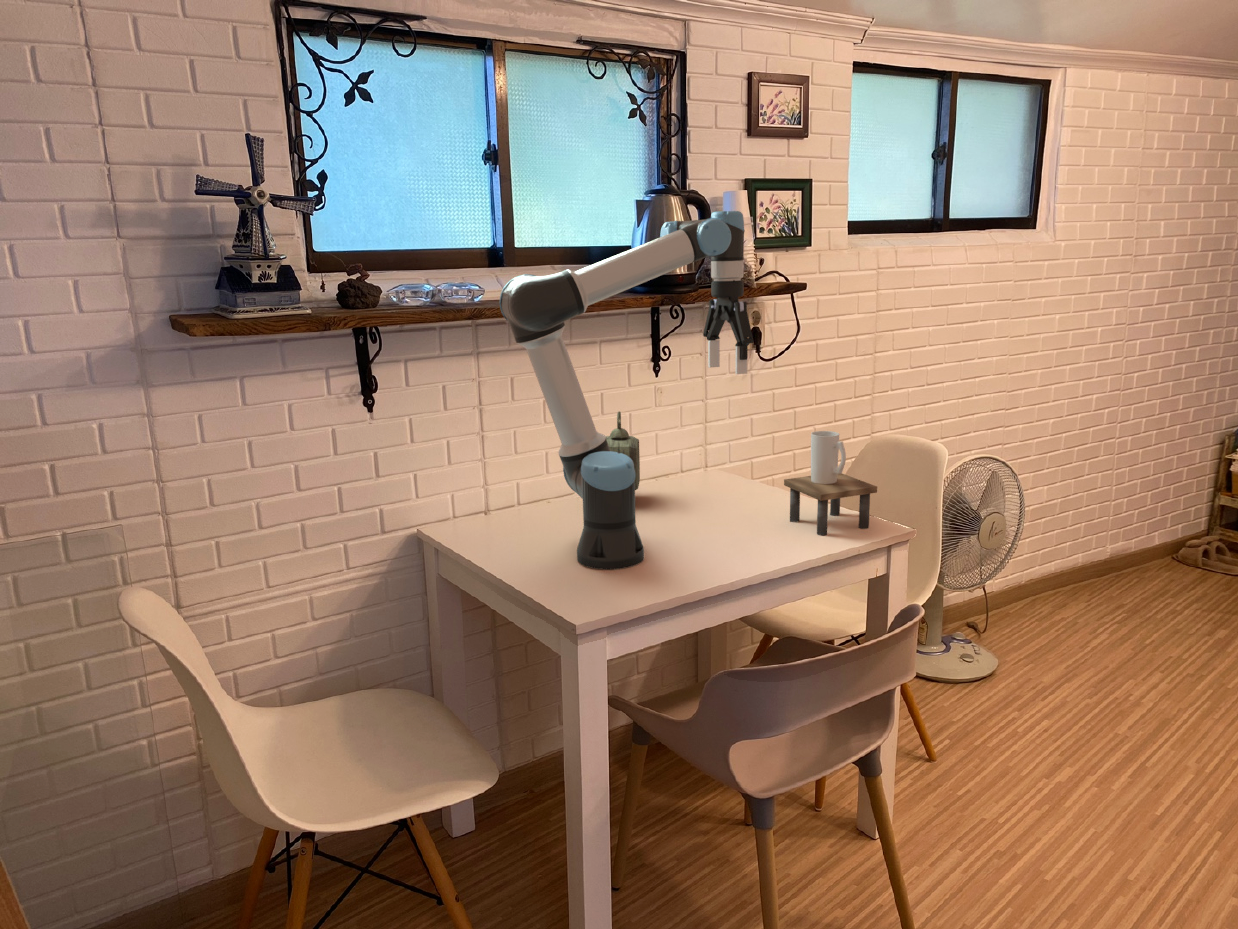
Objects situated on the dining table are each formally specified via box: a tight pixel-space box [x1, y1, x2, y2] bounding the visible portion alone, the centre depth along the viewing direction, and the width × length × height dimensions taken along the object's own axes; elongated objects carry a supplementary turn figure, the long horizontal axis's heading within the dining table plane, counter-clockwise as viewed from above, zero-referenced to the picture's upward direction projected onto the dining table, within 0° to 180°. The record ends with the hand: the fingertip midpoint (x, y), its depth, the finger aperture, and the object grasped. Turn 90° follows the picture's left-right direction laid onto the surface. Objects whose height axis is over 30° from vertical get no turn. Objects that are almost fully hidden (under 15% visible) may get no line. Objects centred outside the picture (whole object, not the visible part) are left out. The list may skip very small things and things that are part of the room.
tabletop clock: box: [605, 411, 641, 491], centre depth 250 cm, size 14×9×25 cm, turn 175°
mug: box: [810, 430, 847, 484], centre depth 225 cm, size 10×7×12 cm, turn 34°
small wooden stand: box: [783, 472, 878, 537], centre depth 227 cm, size 16×16×10 cm
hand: (727, 370), depth 220 cm, fingers open, 13 cm apart
